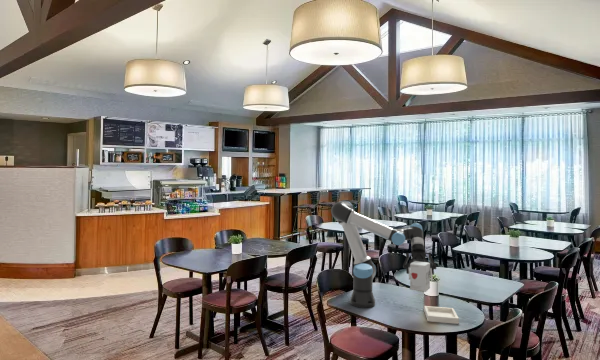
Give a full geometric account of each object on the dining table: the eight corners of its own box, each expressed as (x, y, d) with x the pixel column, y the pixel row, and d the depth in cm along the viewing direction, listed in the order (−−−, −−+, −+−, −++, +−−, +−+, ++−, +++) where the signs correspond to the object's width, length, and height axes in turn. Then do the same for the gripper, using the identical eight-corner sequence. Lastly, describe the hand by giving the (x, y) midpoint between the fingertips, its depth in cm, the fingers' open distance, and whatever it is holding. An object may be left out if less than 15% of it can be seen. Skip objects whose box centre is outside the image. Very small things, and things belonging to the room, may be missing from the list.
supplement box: (409, 289, 222) (409, 263, 222) (414, 285, 230) (414, 260, 229) (425, 292, 217) (425, 265, 217) (430, 288, 224) (430, 262, 224)
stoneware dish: (427, 321, 214) (427, 315, 214) (424, 310, 230) (424, 305, 229) (458, 323, 211) (458, 318, 211) (453, 313, 226) (453, 308, 226)
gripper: (437, 250, 237) (441, 283, 222) (397, 249, 241) (398, 281, 226) (439, 243, 231) (443, 276, 216) (397, 242, 236) (399, 274, 221)
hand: (420, 278), depth 221 cm, fingers closed on supplement box, 11 cm apart
